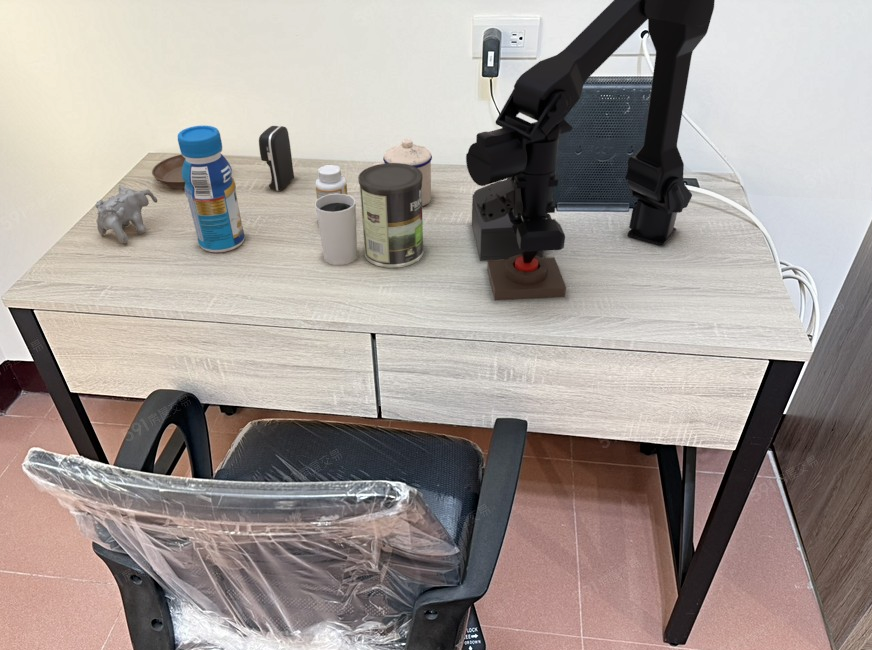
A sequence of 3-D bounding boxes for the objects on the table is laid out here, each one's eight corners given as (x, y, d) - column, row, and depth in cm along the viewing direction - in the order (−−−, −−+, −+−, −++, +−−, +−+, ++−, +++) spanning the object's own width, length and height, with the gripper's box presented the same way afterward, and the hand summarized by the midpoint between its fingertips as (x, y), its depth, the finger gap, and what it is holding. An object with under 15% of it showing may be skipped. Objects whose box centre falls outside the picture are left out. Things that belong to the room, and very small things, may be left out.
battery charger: (279, 176, 147) (270, 121, 140) (295, 178, 146) (287, 123, 139) (263, 190, 142) (254, 135, 135) (281, 192, 141) (272, 136, 134)
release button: (535, 265, 113) (536, 255, 112) (539, 277, 110) (540, 267, 109) (512, 266, 113) (513, 256, 112) (516, 278, 110) (517, 268, 109)
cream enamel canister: (434, 189, 140) (433, 131, 133) (430, 211, 133) (429, 151, 126) (374, 188, 142) (370, 131, 134) (367, 209, 135) (363, 150, 127)
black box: (529, 222, 129) (532, 195, 125) (542, 258, 119) (545, 229, 116) (471, 225, 129) (472, 198, 125) (479, 261, 119) (481, 233, 116)
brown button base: (553, 267, 117) (555, 248, 115) (565, 297, 110) (567, 278, 108) (487, 270, 117) (487, 251, 114) (494, 301, 110) (495, 281, 108)
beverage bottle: (189, 243, 127) (160, 134, 114) (227, 226, 131) (204, 118, 118) (216, 259, 122) (190, 147, 109) (255, 240, 127) (235, 130, 114)
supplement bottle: (334, 211, 134) (329, 160, 128) (356, 220, 132) (351, 167, 125) (313, 223, 131) (307, 170, 125) (335, 232, 128) (329, 178, 122)
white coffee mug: (342, 242, 125) (337, 189, 119) (367, 255, 122) (363, 202, 115) (313, 256, 122) (306, 203, 115) (338, 270, 118) (332, 216, 112)
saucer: (142, 179, 149) (138, 166, 147) (204, 157, 156) (201, 145, 154) (177, 201, 140) (173, 188, 138) (240, 177, 148) (238, 165, 146)
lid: (535, 195, 125) (537, 170, 122) (549, 229, 116) (552, 204, 113) (472, 198, 125) (473, 173, 122) (481, 232, 116) (482, 207, 113)
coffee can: (428, 240, 125) (427, 163, 116) (417, 270, 117) (416, 191, 108) (371, 236, 127) (366, 160, 118) (357, 265, 119) (350, 187, 110)
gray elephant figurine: (91, 242, 128) (77, 203, 123) (129, 212, 137) (117, 174, 132) (135, 248, 126) (123, 208, 121) (171, 217, 135) (161, 179, 130)
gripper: (471, 143, 108) (469, 235, 118) (487, 199, 93) (483, 297, 104) (544, 140, 108) (535, 231, 118) (571, 194, 94) (558, 293, 104)
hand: (527, 261), depth 111 cm, fingers closed, pressing on release button
